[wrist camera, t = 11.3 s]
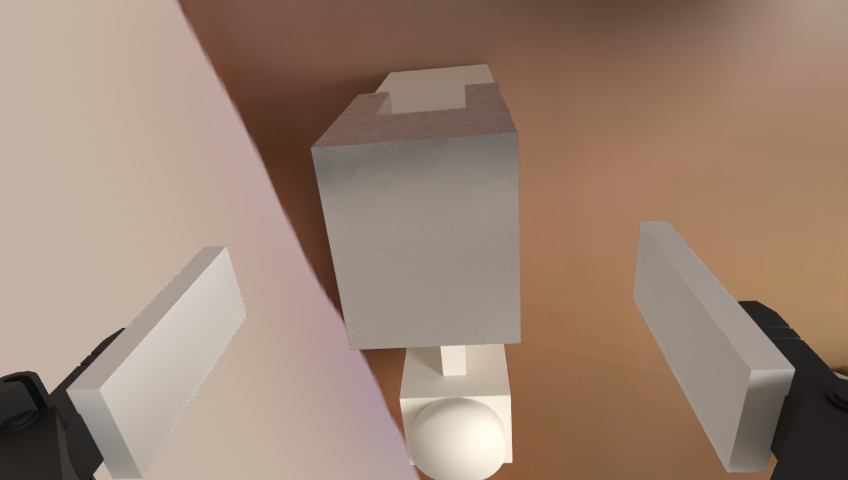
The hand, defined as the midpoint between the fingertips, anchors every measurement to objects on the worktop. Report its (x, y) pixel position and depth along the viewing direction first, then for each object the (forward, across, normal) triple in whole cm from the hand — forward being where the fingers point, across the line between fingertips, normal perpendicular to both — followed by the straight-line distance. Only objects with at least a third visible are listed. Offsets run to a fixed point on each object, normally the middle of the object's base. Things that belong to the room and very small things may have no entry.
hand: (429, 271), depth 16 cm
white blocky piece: (+24, 0, +9) cm, 26 cm away
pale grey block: (+10, 0, 0) cm, 10 cm away
